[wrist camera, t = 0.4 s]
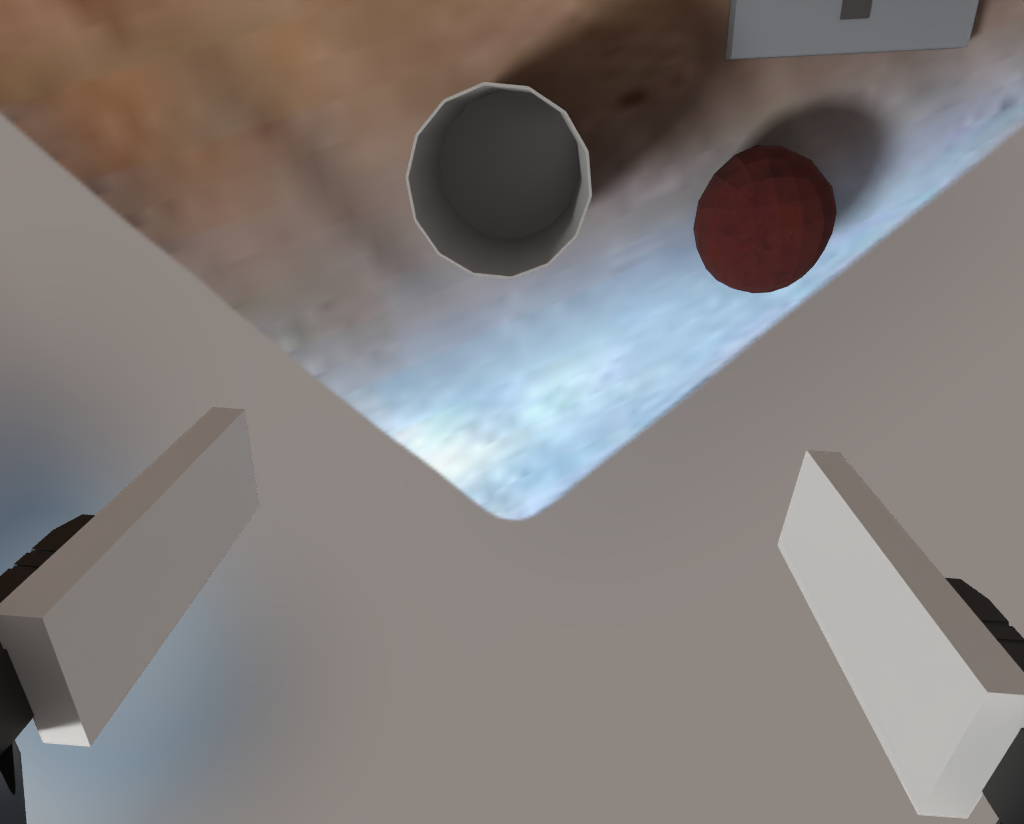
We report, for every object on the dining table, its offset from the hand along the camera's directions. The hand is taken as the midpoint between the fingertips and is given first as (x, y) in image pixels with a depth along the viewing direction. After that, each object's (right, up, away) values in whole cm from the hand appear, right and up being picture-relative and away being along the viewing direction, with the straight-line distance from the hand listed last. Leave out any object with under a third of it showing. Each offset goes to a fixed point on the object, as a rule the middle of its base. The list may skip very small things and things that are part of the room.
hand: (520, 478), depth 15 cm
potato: (+14, +14, +23) cm, 30 cm away
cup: (0, +16, +22) cm, 28 cm away
